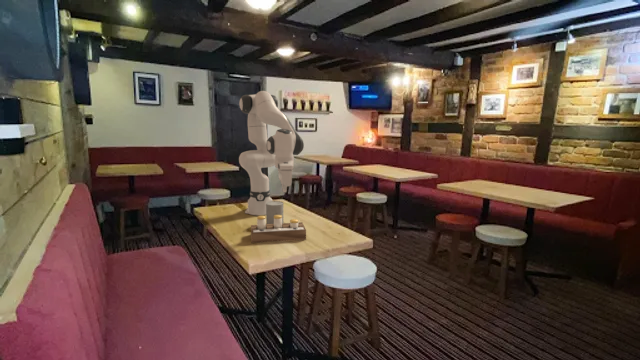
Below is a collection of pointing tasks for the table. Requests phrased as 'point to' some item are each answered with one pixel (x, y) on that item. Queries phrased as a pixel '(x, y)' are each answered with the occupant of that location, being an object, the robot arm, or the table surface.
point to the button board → (277, 234)
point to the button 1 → (261, 222)
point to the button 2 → (293, 223)
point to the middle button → (277, 221)
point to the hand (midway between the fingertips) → (284, 191)
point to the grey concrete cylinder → (273, 211)
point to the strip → (278, 229)
